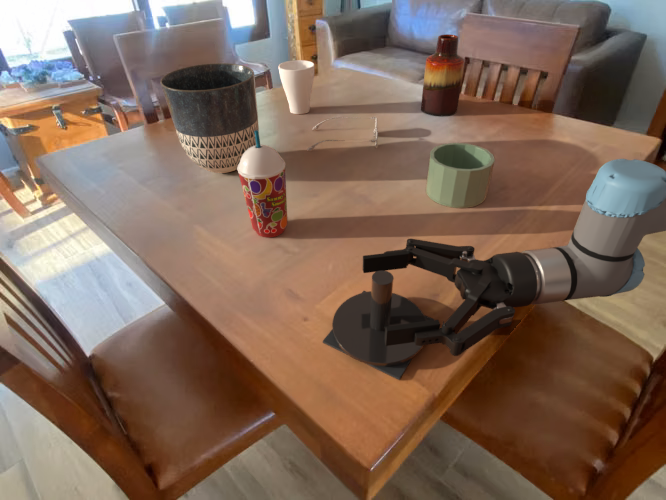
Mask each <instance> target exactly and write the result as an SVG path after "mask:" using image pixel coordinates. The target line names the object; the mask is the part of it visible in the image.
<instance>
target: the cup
mask: <svg viewBox="0 0 666 500" xmlns="http://www.w3.org/2000/svg"><path fill="white" fill-rule="evenodd" d="M277 67H278V72H279V78H280V81H281V85H282V88H283V90H284V94H285V97H286V100H287V102H288V103H287V104H288V107H289V112H290V113H291V114H292V115H305V114H308V113H309V112H310V110H311V109H310V108H311V97H312V91H313V87H314V86H313V85H314V80H315V63H314V62H313V61H310V60H304V59H296V60H295V59H294V60H287V61H283V62H281V63H279V64H278V66H277Z"/></svg>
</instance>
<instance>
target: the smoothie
mask: <svg viewBox="0 0 666 500" xmlns="http://www.w3.org/2000/svg"><path fill="white" fill-rule="evenodd" d="M254 132H255V139H256V145H254V146H252V147H250V148H248V149H247V150H246V151H245V152H244V153H243V155H242V157H241V159H240V163H239V164H238V167H237V170H236V171H237V173H238V177H239V180H240V185H241V189H242V192H243V196H244V201H245V204H246V208H247V212H248V216H249V220H250V224H251V227H252V229H253V230H254V231H255V233H256V235H258V236H260V237H262V238H276V237H278V236H280V235H282V234H283V233H284V232H285V231H286V227H287V226H288V205H287V179H286V177H287V175H286V162H285V160H284V159H283V158H282V157H281V155H280V153H279V152H278V151H277V150H276V149H274V147H272V146H270V145H266V144H261V140H260V131H259V132H258V130H255V131H254Z"/></svg>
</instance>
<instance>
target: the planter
mask: <svg viewBox="0 0 666 500" xmlns="http://www.w3.org/2000/svg"><path fill="white" fill-rule="evenodd" d="M255 79H256V77H255V72H254V70H253V69H252V68H251V67H249V66H246V65H242V64H239V63H230V62H227V63H226V62H217V63H216V62H214V63H202V64H196V65H195V64H194V65H190V66H185V67H182V68H178V69H175V70H172V71H170V72H168V73H166V74H165V75H164V76H162V77H161V79H160V82H159V83H160V86H161V90H162V93H163V97H164V100H165V102H166V105H167V109H168V111H169V114H170V117H171V121H172V124H173V126H174V130H175V133H176V135H177V138H178V141H179V143H180V146H181V148H182V149H183V151H184V152H185V155H186V156H187V157H188V158H189V160H191V162H193V164H195V165H196V166H198V167H199V168H201V169H203V170H205V171H208V172H210V173H215V174H218V173H219V174H225V173H232V172H235V171H238V170H237V167H238V164H239V163H240V159H241V157H242V155H243V153H244V152H245V151H246V150H247V149H248V148H250V147H252V146H254V145H256V139H255V132H254V131H255V130H258V132H259V133H260V131H259V130H260V128H259V127H260V126H259V114H258V103H257V91H256V80H255Z"/></svg>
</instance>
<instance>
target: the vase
mask: <svg viewBox="0 0 666 500" xmlns="http://www.w3.org/2000/svg"><path fill="white" fill-rule="evenodd" d="M458 47H459V36H458V35H455V34H449V33H448V34H440V35H438V37H437V41H436V47H435V51H434V53H433V54H430V55H428V56H427V57H426V58H425V65H424V66H425V67H424V77H423V84H422V95H421V103H420V104H421V105H420V106H421V107H420V110H421V112H422V113H424V114H426V115H429V116H433V117H448V116H452V115H454V114H456V113H457V112H458V109H459V108H458V107H459V102H460V96H461V95H460V94H461V89H462V82H463V76H464V69H465V64H466V60H465V58H464V57H463V56H461V55H460V54H458V49H459V48H458Z"/></svg>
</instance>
